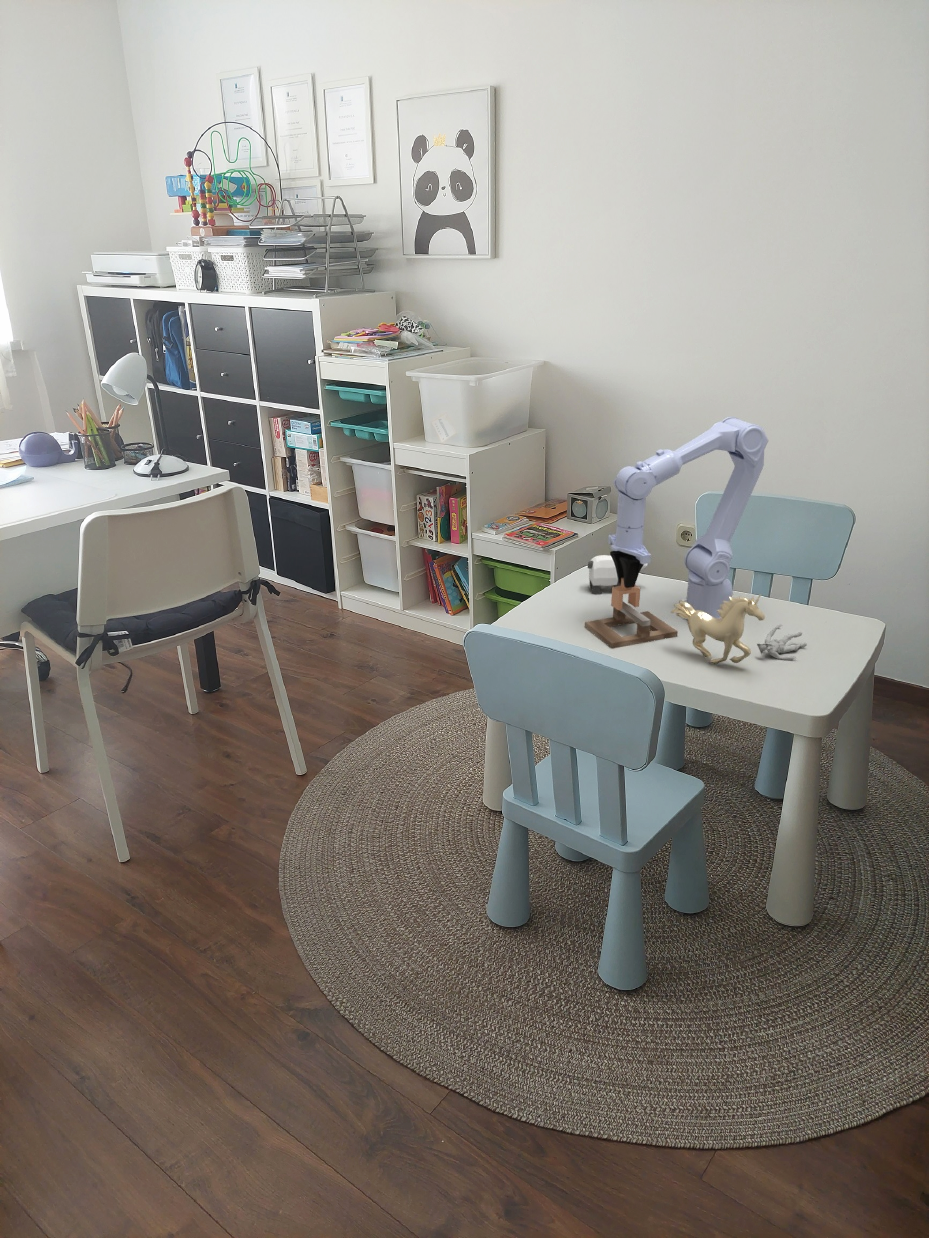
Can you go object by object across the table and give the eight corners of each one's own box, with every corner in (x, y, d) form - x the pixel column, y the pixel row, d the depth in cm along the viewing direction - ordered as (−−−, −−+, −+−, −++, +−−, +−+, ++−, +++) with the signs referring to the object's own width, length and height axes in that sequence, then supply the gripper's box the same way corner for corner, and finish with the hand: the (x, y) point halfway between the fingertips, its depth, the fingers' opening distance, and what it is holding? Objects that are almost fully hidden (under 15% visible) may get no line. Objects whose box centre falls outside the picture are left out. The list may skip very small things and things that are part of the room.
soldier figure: (813, 657, 184) (785, 657, 176) (793, 667, 187) (764, 667, 179) (798, 624, 187) (769, 621, 179) (779, 634, 190) (749, 632, 182)
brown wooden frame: (647, 616, 202) (649, 595, 200) (677, 636, 192) (679, 614, 190) (584, 627, 197) (585, 606, 195) (611, 648, 187) (613, 626, 185)
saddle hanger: (632, 601, 197) (633, 575, 194) (639, 606, 194) (640, 579, 192) (611, 605, 195) (612, 578, 193) (617, 610, 193) (619, 583, 190)
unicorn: (662, 650, 186) (669, 573, 179) (672, 644, 188) (679, 568, 181) (751, 679, 173) (762, 598, 166) (761, 672, 175) (772, 592, 169)
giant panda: (588, 595, 214) (590, 557, 210) (584, 586, 219) (586, 550, 215) (648, 593, 215) (651, 555, 211) (643, 584, 220) (645, 548, 216)
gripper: (596, 517, 192) (594, 576, 198) (631, 536, 180) (627, 599, 185) (625, 513, 195) (622, 572, 200) (661, 532, 182) (656, 594, 188)
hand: (626, 584), depth 193 cm, fingers closed on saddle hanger, 2 cm apart
